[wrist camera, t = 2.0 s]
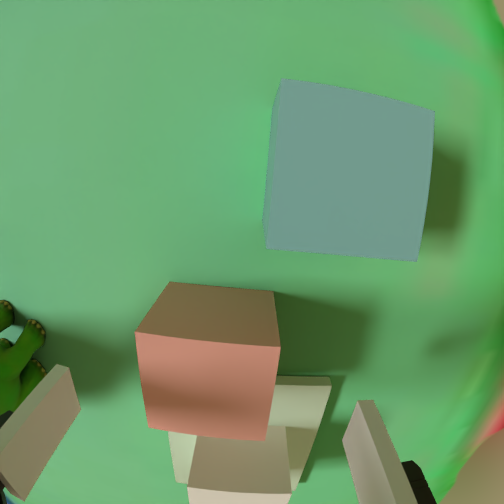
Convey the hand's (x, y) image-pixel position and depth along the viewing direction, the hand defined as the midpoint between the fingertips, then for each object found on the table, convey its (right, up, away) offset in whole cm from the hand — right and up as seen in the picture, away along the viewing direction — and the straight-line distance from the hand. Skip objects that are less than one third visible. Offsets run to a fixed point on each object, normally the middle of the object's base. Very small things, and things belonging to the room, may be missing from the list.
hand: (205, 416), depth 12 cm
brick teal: (+6, +11, +4) cm, 13 cm away
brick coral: (0, +2, +7) cm, 7 cm away
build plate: (+1, -8, +9) cm, 12 cm away
